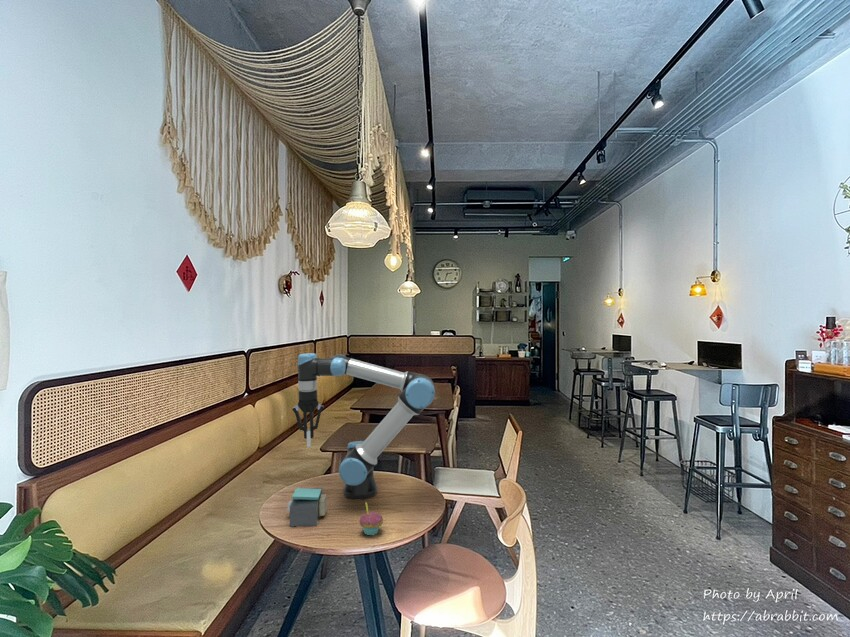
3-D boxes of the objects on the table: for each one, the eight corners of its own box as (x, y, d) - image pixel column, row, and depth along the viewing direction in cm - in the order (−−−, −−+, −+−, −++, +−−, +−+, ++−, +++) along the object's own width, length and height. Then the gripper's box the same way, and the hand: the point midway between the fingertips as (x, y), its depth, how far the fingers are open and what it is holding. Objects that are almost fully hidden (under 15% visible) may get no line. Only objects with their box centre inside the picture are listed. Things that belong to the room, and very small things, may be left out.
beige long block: (326, 508, 175) (326, 494, 175) (324, 515, 169) (324, 500, 169) (290, 510, 173) (289, 495, 173) (286, 517, 167) (286, 501, 167)
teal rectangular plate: (321, 491, 175) (321, 489, 175) (318, 500, 167) (318, 497, 167) (296, 490, 174) (296, 488, 174) (292, 499, 166) (292, 496, 166)
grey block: (322, 507, 179) (322, 488, 179) (316, 525, 163) (316, 505, 163) (298, 508, 178) (298, 488, 178) (289, 527, 163) (289, 506, 162)
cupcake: (361, 540, 153) (361, 506, 153) (358, 528, 161) (358, 497, 161) (384, 536, 156) (384, 504, 155) (380, 525, 164) (380, 494, 164)
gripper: (324, 387, 185) (325, 442, 185) (292, 389, 183) (294, 444, 183) (323, 390, 178) (324, 447, 178) (290, 392, 175) (291, 449, 176)
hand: (309, 445), depth 180 cm, fingers closed
